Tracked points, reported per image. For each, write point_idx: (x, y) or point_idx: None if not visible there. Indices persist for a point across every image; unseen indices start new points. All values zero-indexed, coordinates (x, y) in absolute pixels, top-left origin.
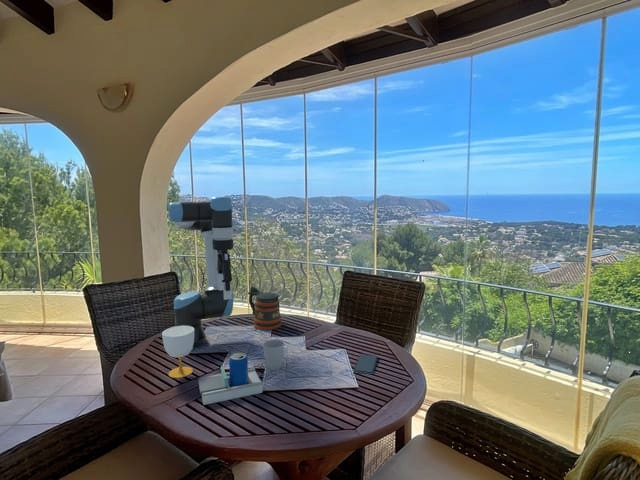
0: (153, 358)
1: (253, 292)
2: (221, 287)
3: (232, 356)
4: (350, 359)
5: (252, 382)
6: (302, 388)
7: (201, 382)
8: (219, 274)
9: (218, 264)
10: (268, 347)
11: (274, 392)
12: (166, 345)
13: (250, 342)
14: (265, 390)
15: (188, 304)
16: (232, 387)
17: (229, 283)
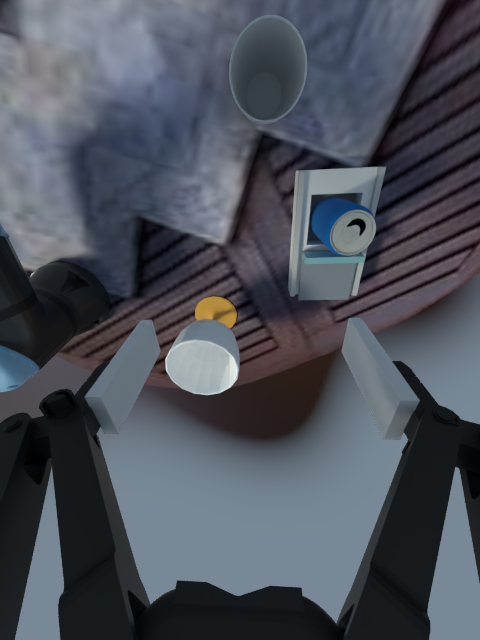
0: None
1: None
2: (152, 350)
3: (341, 248)
4: None
5: (359, 190)
6: (426, 32)
7: (314, 295)
8: (117, 427)
9: (36, 517)
10: (291, 107)
11: (392, 134)
12: (225, 373)
13: (76, 139)
14: (369, 156)
15: (26, 356)
16: None
17: (435, 404)
